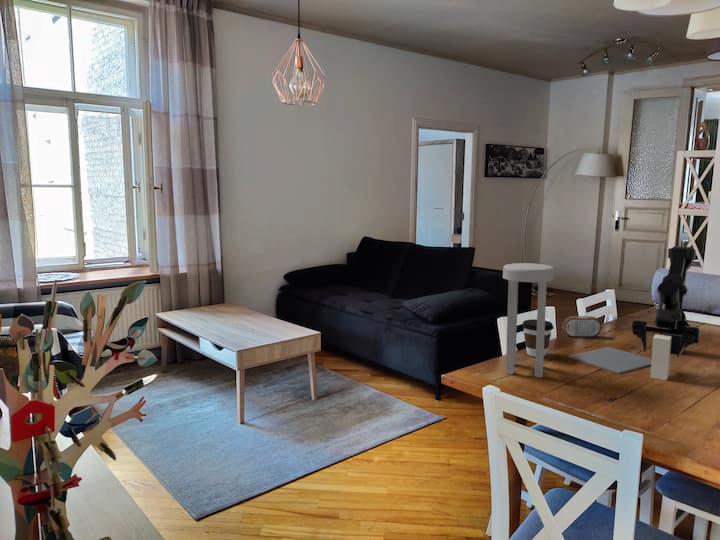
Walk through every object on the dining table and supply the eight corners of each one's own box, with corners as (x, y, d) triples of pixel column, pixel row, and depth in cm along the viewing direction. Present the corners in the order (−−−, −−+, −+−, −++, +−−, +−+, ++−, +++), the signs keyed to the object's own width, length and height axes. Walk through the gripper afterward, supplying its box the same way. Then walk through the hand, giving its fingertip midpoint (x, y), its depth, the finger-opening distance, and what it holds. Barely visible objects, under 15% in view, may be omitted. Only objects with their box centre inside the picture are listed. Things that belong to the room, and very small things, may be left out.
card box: (652, 373, 171) (655, 334, 169) (668, 375, 168) (671, 336, 166) (650, 377, 167) (653, 337, 165) (666, 380, 164) (669, 340, 162)
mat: (608, 348, 198) (608, 346, 198) (659, 362, 180) (660, 361, 180) (567, 357, 187) (567, 355, 187) (618, 374, 170) (618, 372, 170)
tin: (599, 336, 215) (600, 315, 214) (602, 338, 212) (603, 317, 211) (561, 335, 216) (562, 315, 215) (563, 337, 213) (564, 317, 212)
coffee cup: (553, 352, 194) (555, 320, 192) (550, 361, 184) (552, 327, 182) (523, 348, 198) (524, 317, 197) (518, 357, 189) (519, 324, 187)
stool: (498, 375, 170) (501, 268, 165) (503, 360, 185) (505, 262, 180) (549, 380, 165) (553, 270, 160) (549, 365, 179) (554, 263, 174)
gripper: (634, 295, 173) (626, 335, 166) (701, 302, 162) (695, 345, 155) (637, 314, 181) (629, 353, 173) (701, 322, 170) (695, 363, 162)
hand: (661, 353), depth 166 cm, fingers open, 9 cm apart
